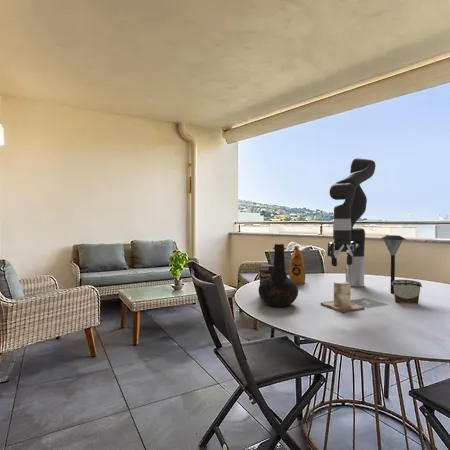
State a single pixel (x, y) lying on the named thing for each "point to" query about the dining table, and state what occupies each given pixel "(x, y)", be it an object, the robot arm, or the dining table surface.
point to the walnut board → (342, 309)
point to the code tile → (367, 303)
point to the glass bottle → (278, 283)
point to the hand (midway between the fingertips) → (341, 265)
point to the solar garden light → (392, 252)
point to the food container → (406, 291)
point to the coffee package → (297, 267)
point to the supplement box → (265, 271)
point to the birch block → (342, 293)
